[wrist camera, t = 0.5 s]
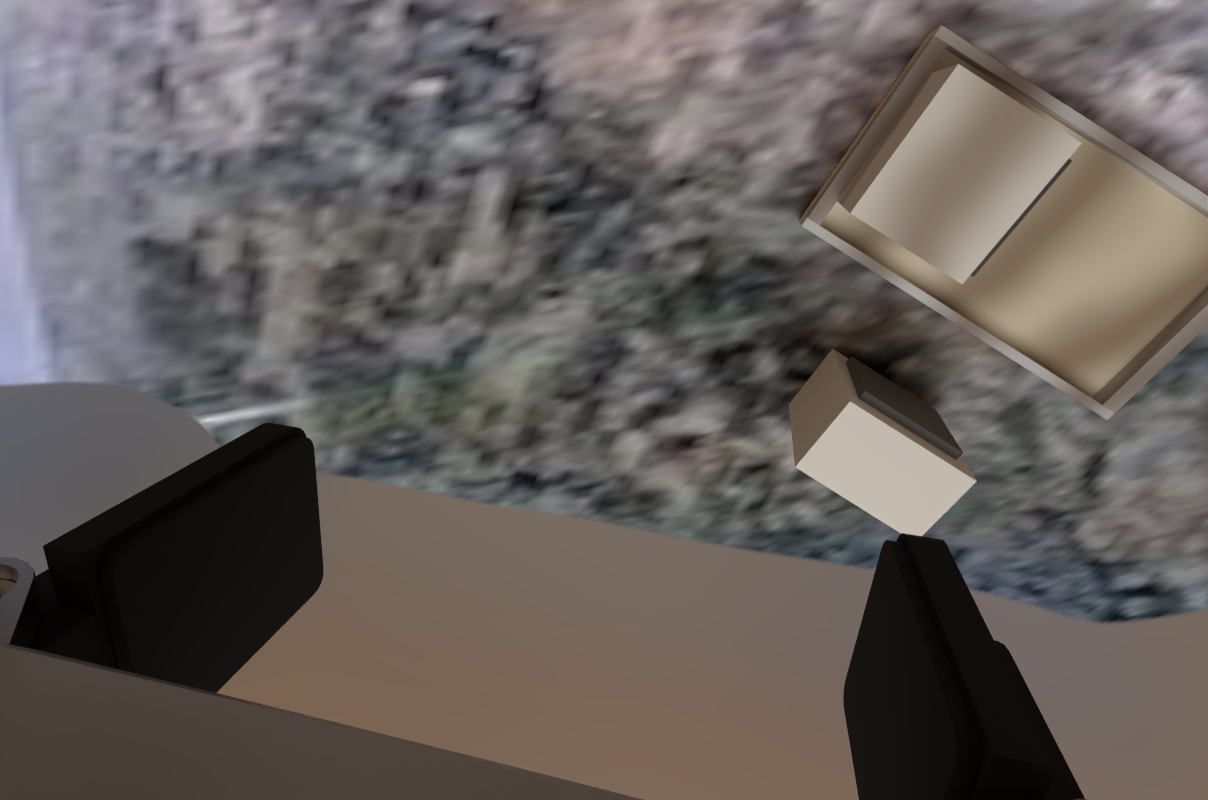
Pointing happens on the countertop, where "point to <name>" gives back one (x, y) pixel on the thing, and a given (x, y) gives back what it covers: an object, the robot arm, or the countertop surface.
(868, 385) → the tall beige carton
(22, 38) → the countertop surface
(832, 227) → the beige tray with blocks
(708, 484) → the countertop surface
